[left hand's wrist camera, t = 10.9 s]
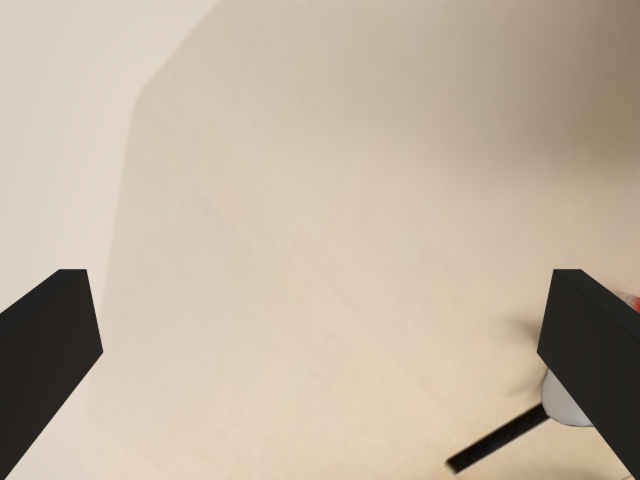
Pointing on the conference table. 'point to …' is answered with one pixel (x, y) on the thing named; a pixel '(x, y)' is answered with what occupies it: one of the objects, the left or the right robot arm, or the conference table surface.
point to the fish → (559, 399)
